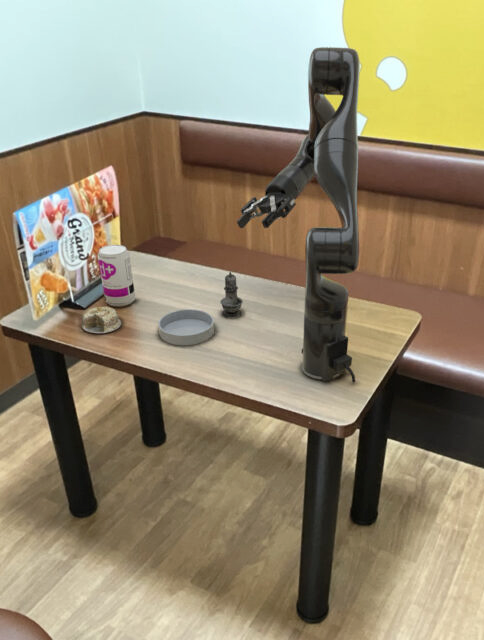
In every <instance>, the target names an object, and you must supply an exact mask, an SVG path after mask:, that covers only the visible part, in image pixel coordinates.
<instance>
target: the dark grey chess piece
mask: <svg viewBox="0 0 484 640" xmlns="http://www.w3.org/2000/svg"><path fill="white" fill-rule="evenodd" d="M238 289H239V287H238V286H237V276H236V275H234V274H232V272H231V271H229V272H228V274H226V275H225V277H224V287H223V290H224V291H225V292H224V294H225V295H224V297H223V298H222V299H221V300H220V301H219V302H220V304H221V307H222V309H223V311H222V312H221V315H222V316H223V317H224V318H227V319H236V318H239V317H241V316H242V314H243V311H242V310H240V309H241V307H242V304H243V302H244V301H243V299H242V298H241V297H238Z"/></svg>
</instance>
